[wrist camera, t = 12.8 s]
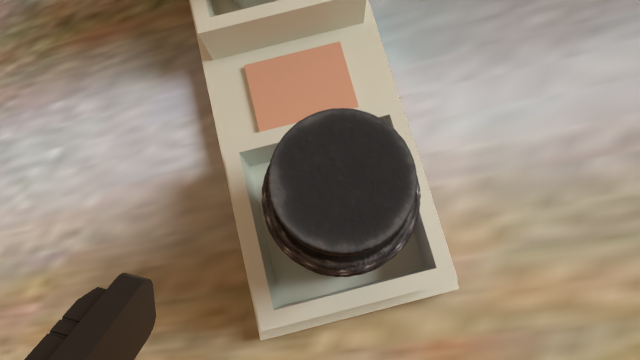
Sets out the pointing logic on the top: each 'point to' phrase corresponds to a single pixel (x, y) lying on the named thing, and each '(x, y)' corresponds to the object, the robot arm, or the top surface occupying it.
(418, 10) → the top surface
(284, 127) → the cream compartment organizer
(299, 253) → the pill bottle
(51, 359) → the robot arm
